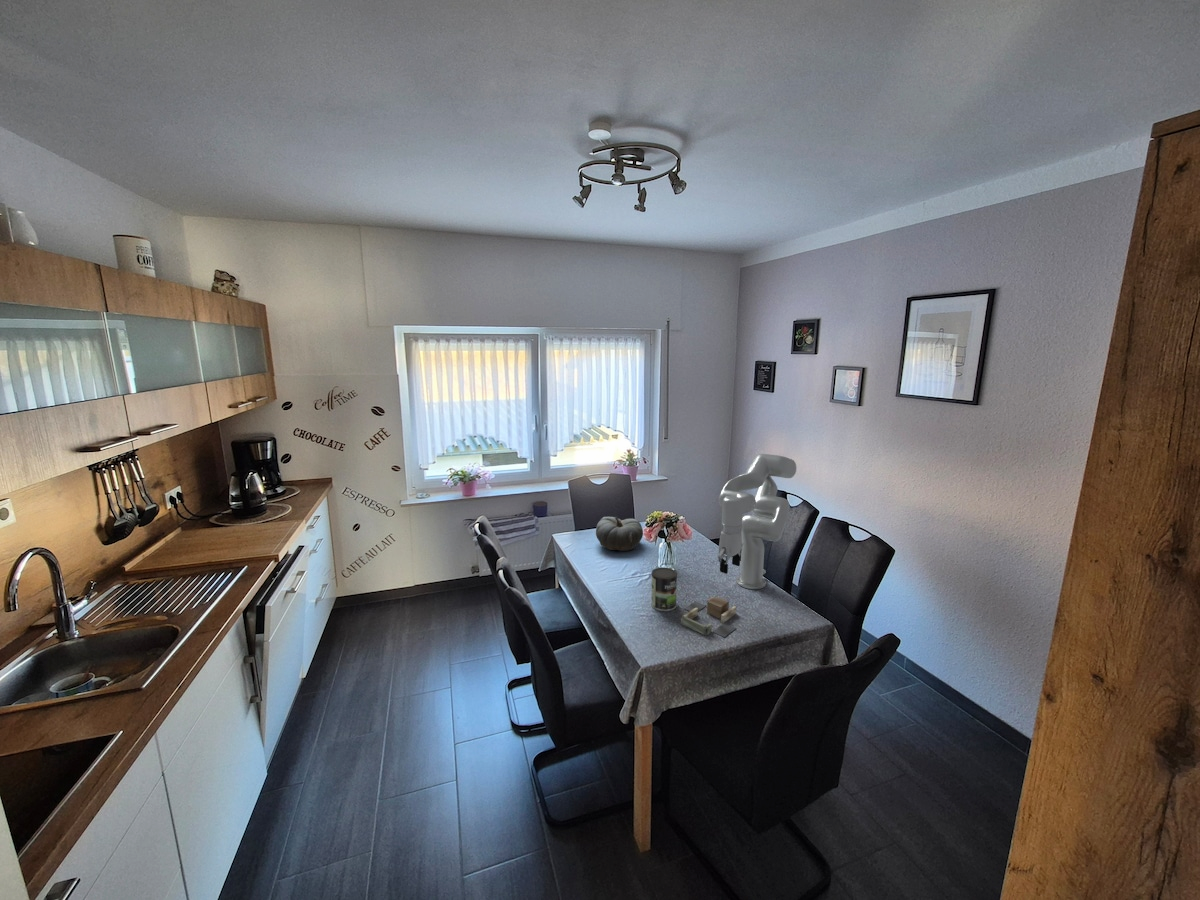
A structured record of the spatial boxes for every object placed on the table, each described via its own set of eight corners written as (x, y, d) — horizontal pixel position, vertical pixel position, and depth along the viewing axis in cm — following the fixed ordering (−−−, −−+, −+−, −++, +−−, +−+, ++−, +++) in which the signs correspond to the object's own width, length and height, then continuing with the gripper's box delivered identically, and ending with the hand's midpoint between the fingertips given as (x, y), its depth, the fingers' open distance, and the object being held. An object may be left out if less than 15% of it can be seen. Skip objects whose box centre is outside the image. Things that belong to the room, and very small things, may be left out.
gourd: (590, 534, 266) (595, 505, 261) (633, 537, 271) (639, 509, 266) (597, 556, 242) (603, 525, 237) (644, 560, 247) (651, 530, 243)
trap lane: (700, 598, 199) (700, 592, 199) (748, 618, 184) (749, 611, 183) (669, 618, 185) (669, 611, 184) (719, 641, 170) (719, 634, 169)
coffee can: (681, 606, 194) (682, 573, 191) (663, 614, 188) (663, 581, 185) (664, 596, 202) (664, 565, 199) (645, 603, 196) (646, 571, 193)
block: (715, 607, 193) (715, 596, 192) (728, 613, 189) (728, 601, 188) (706, 613, 189) (707, 601, 188) (720, 618, 184) (720, 607, 184)
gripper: (734, 519, 196) (732, 559, 200) (710, 531, 184) (709, 573, 188) (751, 524, 191) (749, 564, 194) (728, 536, 179) (726, 579, 182)
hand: (729, 568), depth 191 cm, fingers open, 8 cm apart
